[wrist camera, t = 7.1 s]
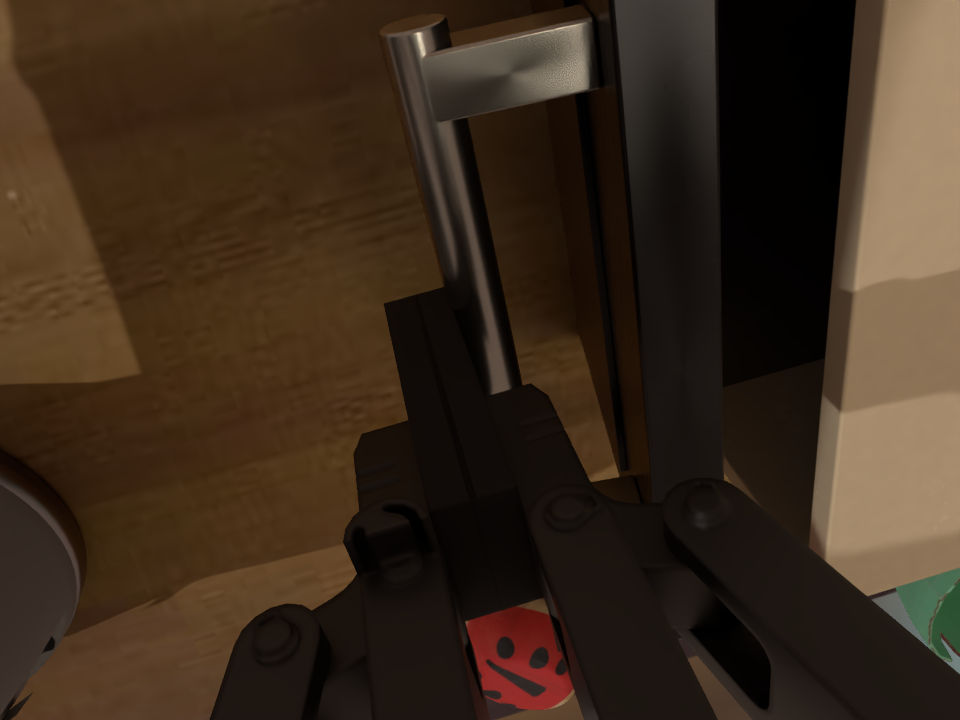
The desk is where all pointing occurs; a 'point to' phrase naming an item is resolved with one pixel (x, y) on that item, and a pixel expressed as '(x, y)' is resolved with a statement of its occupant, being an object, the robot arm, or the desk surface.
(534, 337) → the desk surface
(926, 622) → the mug
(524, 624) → the ladybug figurine
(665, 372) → the oven door
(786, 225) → the oven
